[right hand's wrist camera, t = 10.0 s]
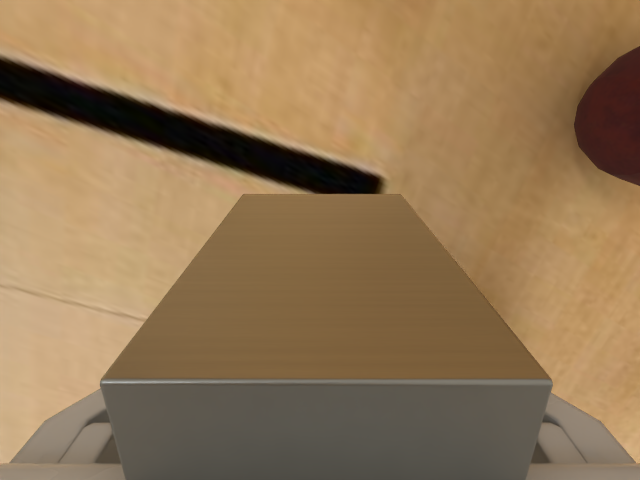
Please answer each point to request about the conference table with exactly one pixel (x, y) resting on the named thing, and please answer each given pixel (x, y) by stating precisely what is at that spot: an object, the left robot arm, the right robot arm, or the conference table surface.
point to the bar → (325, 356)
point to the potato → (613, 119)
